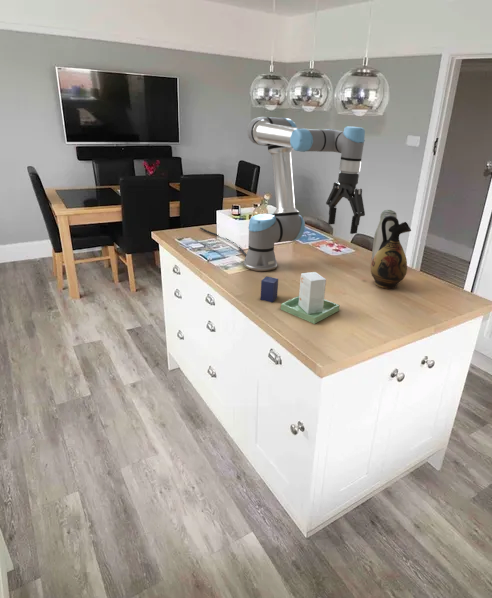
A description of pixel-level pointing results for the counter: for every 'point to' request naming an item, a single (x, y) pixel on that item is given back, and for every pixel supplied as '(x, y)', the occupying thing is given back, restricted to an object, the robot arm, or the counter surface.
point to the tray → (296, 310)
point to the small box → (312, 292)
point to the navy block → (269, 289)
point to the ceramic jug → (390, 256)
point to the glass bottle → (378, 234)
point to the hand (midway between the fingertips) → (342, 228)
